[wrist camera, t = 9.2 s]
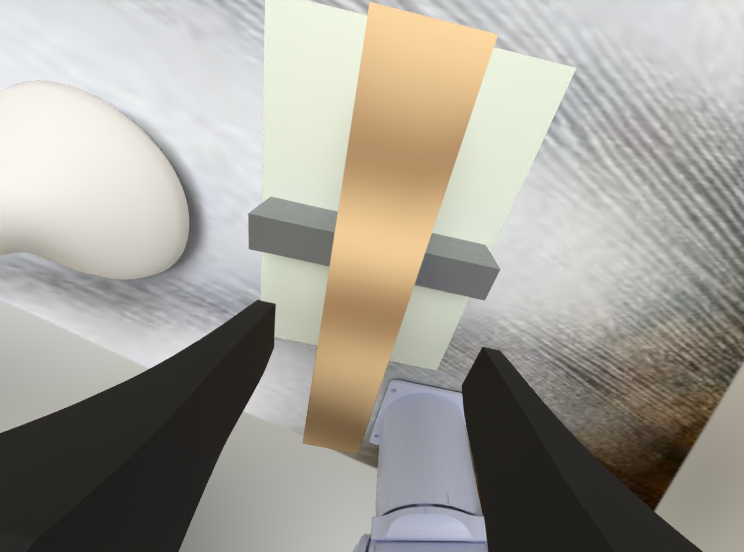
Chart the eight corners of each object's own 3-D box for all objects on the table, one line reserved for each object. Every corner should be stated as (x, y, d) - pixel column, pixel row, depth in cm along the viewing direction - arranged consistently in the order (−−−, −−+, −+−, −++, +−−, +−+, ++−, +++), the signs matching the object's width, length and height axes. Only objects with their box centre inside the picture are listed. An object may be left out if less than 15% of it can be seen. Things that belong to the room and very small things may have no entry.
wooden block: (366, 379, 20) (358, 453, 16) (323, 370, 20) (302, 443, 16) (460, 58, 11) (498, 34, 7) (381, 39, 11) (369, 2, 7)
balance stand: (434, 359, 25) (441, 403, 21) (266, 323, 24) (242, 363, 21) (563, 70, 14) (618, 60, 11) (275, -2, 14) (231, -38, 10)
